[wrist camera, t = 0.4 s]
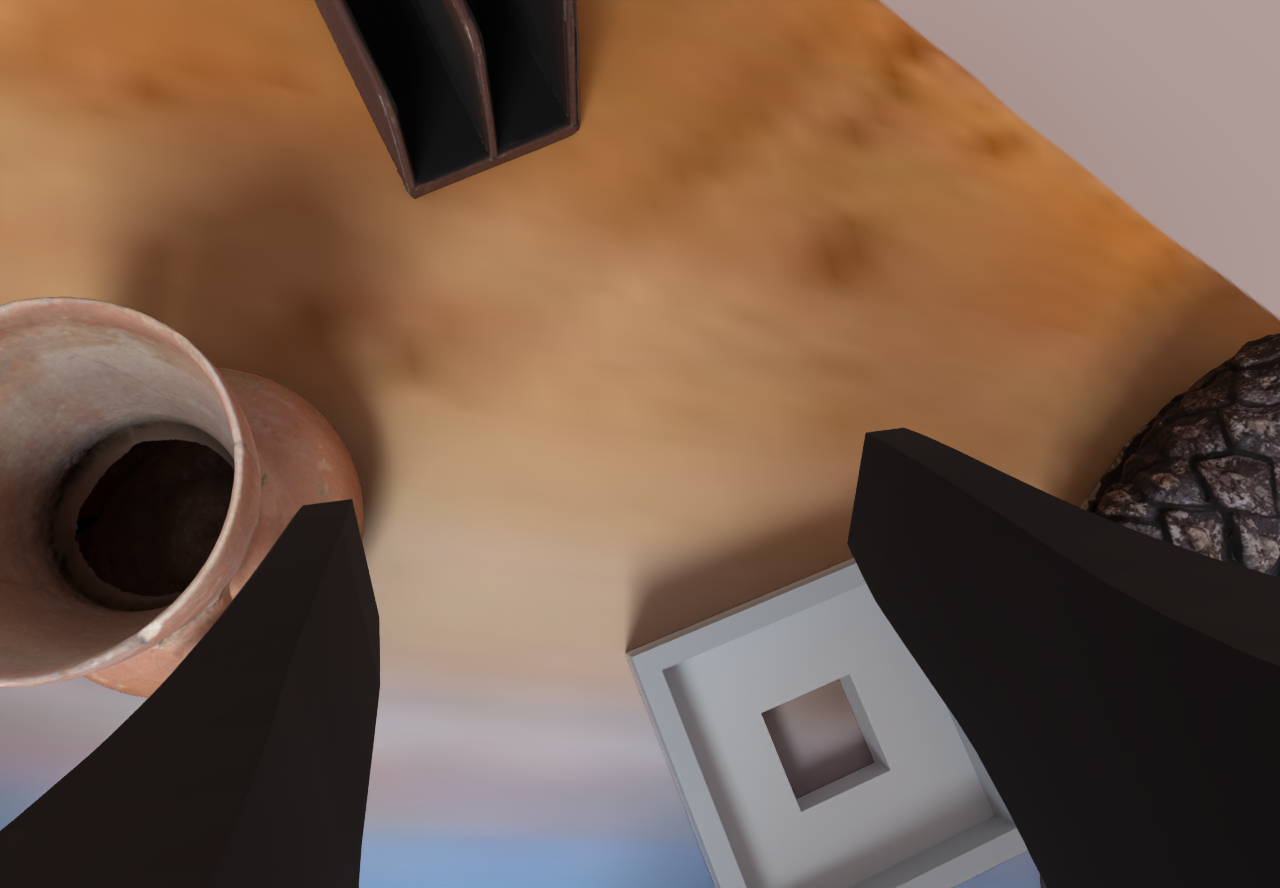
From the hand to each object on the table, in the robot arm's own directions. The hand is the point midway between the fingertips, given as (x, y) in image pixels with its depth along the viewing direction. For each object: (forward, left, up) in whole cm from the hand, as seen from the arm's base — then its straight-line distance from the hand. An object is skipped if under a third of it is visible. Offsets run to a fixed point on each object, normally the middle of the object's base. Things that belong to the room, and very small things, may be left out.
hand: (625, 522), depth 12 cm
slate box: (-11, -8, -29) cm, 32 cm away
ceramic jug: (+9, +15, -30) cm, 34 cm away
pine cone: (-8, -32, -30) cm, 44 cm away
